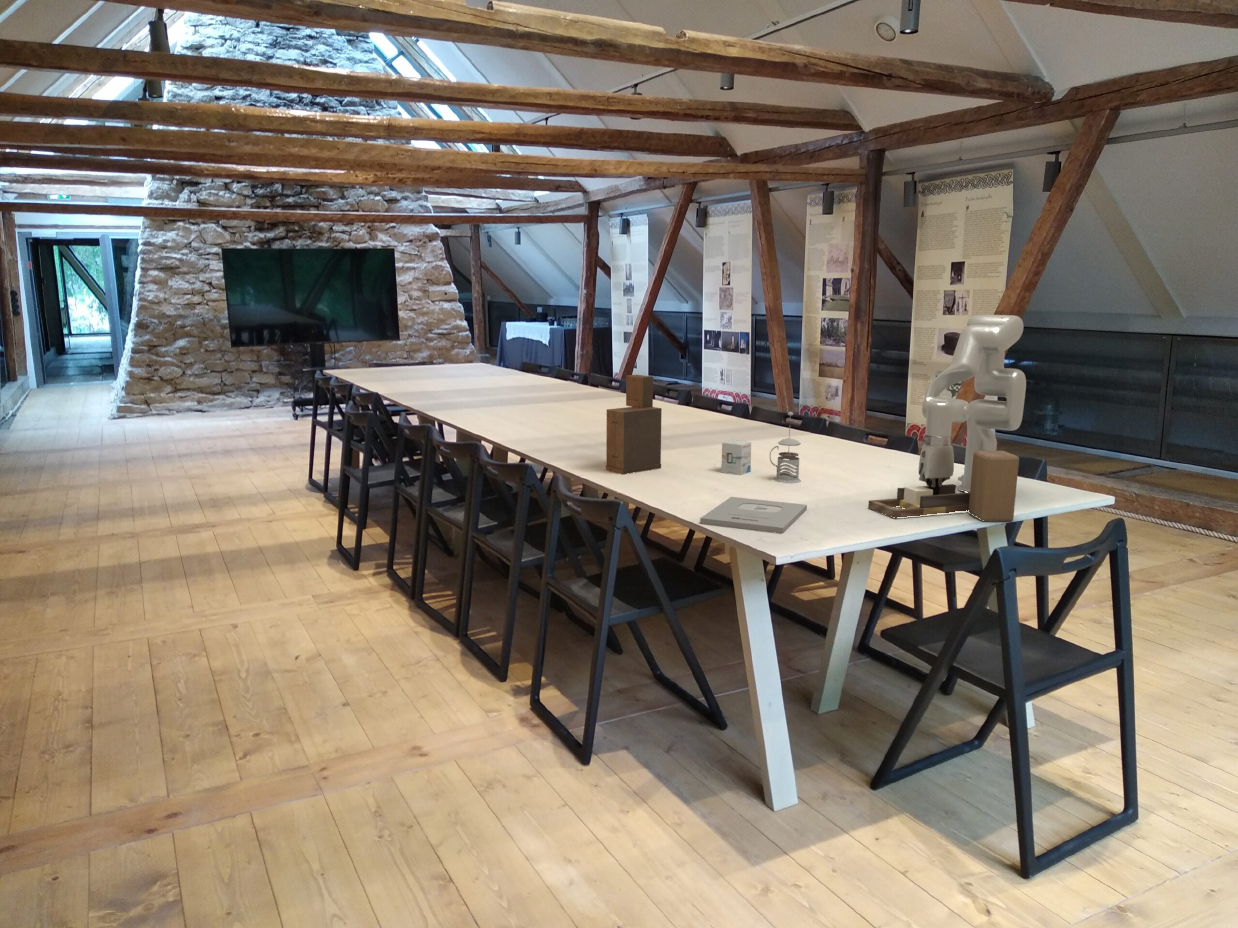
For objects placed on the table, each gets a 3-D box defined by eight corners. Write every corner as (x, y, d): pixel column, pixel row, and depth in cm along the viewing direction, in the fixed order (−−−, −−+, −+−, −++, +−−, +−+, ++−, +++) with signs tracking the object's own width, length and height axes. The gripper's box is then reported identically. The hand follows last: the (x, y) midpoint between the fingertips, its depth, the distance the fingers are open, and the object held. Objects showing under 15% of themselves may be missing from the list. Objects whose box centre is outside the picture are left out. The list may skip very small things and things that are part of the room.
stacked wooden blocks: (637, 462, 343) (638, 374, 336) (661, 468, 332) (662, 377, 325) (599, 468, 331) (599, 377, 324) (623, 474, 320) (623, 380, 313)
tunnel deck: (868, 508, 272) (869, 489, 270) (960, 500, 282) (962, 482, 281) (894, 519, 258) (896, 499, 257) (990, 510, 269) (992, 492, 268)
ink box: (731, 469, 331) (731, 439, 329) (751, 471, 327) (752, 441, 324) (720, 472, 325) (721, 442, 322) (741, 475, 320) (742, 444, 318)
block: (998, 513, 266) (1004, 450, 262) (1014, 522, 256) (1020, 456, 252) (966, 513, 266) (972, 450, 262) (981, 522, 256) (987, 456, 252)
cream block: (903, 501, 271) (904, 487, 270) (919, 499, 273) (920, 485, 272) (915, 505, 265) (916, 491, 264) (931, 504, 267) (933, 489, 266)
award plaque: (700, 525, 253) (700, 517, 252) (730, 503, 279) (731, 496, 279) (782, 535, 242) (783, 527, 242) (806, 511, 269) (807, 504, 269)
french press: (801, 483, 306) (804, 414, 301) (768, 482, 309) (771, 413, 304) (801, 478, 316) (804, 410, 311) (769, 476, 318) (771, 409, 313)
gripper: (924, 444, 261) (920, 503, 264) (965, 441, 265) (961, 499, 269) (909, 440, 268) (905, 497, 271) (949, 437, 272) (945, 494, 276)
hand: (933, 498), depth 270 cm, fingers closed
